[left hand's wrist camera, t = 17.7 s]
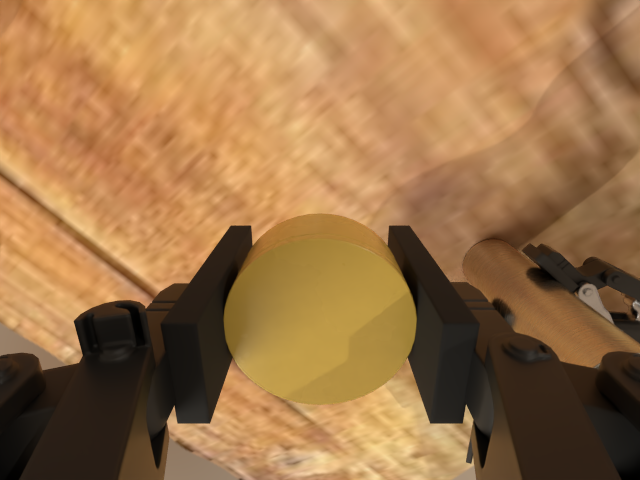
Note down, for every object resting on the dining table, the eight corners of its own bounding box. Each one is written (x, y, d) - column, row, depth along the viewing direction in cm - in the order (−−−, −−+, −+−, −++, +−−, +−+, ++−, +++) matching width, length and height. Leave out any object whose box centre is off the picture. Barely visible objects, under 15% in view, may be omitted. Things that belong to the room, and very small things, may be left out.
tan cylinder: (458, 285, 33) (589, 460, 17) (468, 237, 32) (623, 381, 15) (508, 287, 33) (686, 464, 17) (521, 240, 32) (730, 385, 16)
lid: (426, 316, 12) (448, 359, 10) (293, 378, 13) (288, 430, 11) (353, 181, 11) (361, 200, 9) (207, 263, 12) (183, 297, 10)
